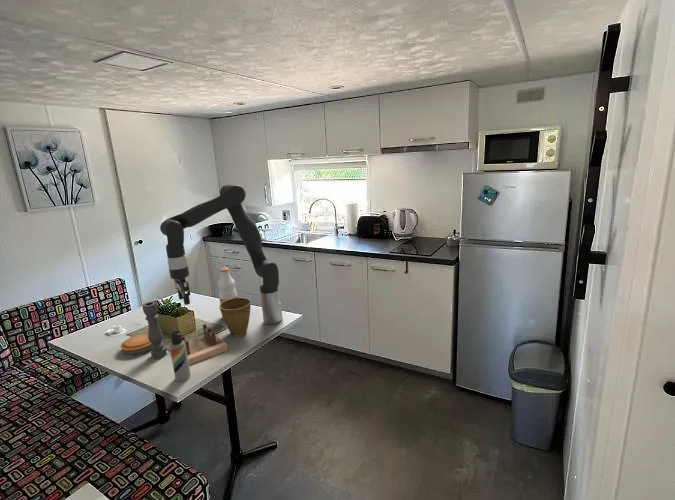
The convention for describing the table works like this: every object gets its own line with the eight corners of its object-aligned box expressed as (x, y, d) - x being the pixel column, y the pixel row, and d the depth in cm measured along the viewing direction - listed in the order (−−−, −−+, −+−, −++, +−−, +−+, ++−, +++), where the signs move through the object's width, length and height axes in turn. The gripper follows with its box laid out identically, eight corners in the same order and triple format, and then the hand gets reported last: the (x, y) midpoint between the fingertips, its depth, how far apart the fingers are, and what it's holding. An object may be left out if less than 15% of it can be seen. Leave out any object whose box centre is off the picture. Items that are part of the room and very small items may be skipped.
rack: (213, 334, 181) (211, 321, 179) (224, 344, 170) (222, 330, 168) (171, 348, 169) (169, 334, 167) (180, 359, 158) (177, 345, 156)
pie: (163, 347, 170) (161, 337, 169) (127, 360, 160) (125, 350, 159) (152, 337, 181) (150, 328, 180) (118, 349, 171) (116, 339, 170)
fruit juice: (219, 317, 200) (212, 269, 194) (234, 311, 207) (228, 265, 200) (227, 321, 194) (220, 272, 187) (242, 316, 200) (236, 268, 193)
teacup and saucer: (104, 335, 187) (102, 328, 186) (118, 328, 194) (116, 321, 193) (115, 337, 183) (114, 330, 182) (129, 330, 191) (128, 323, 190)
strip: (224, 347, 167) (223, 342, 166) (227, 350, 164) (226, 344, 164) (185, 363, 156) (183, 356, 155) (187, 366, 153) (186, 360, 153)
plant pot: (221, 330, 184) (216, 301, 180) (249, 323, 190) (246, 295, 186) (226, 343, 171) (222, 311, 167) (257, 334, 177) (253, 304, 173)
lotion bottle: (178, 374, 147) (170, 329, 142) (192, 372, 148) (185, 328, 143) (173, 382, 142) (164, 336, 137) (188, 380, 142) (180, 334, 137)
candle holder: (151, 360, 159) (141, 308, 153) (151, 354, 164) (141, 303, 158) (167, 356, 161) (157, 304, 155) (166, 350, 167) (157, 300, 161)
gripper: (192, 267, 150) (198, 303, 154) (182, 261, 161) (188, 295, 165) (173, 271, 146) (180, 308, 150) (165, 265, 157) (171, 299, 161)
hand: (184, 301), depth 157 cm, fingers open, 8 cm apart
